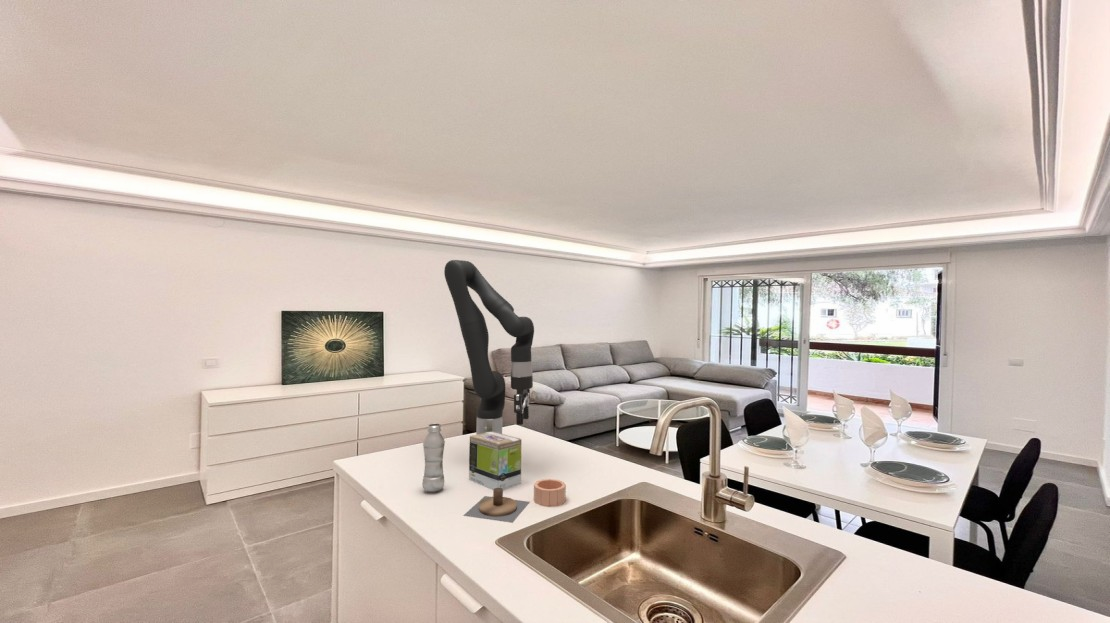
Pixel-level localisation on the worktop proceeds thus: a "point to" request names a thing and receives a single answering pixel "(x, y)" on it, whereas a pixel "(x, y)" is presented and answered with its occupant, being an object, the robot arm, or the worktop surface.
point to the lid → (497, 504)
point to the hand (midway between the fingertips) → (522, 421)
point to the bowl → (549, 492)
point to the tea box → (495, 460)
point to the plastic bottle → (433, 459)
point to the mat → (507, 518)
